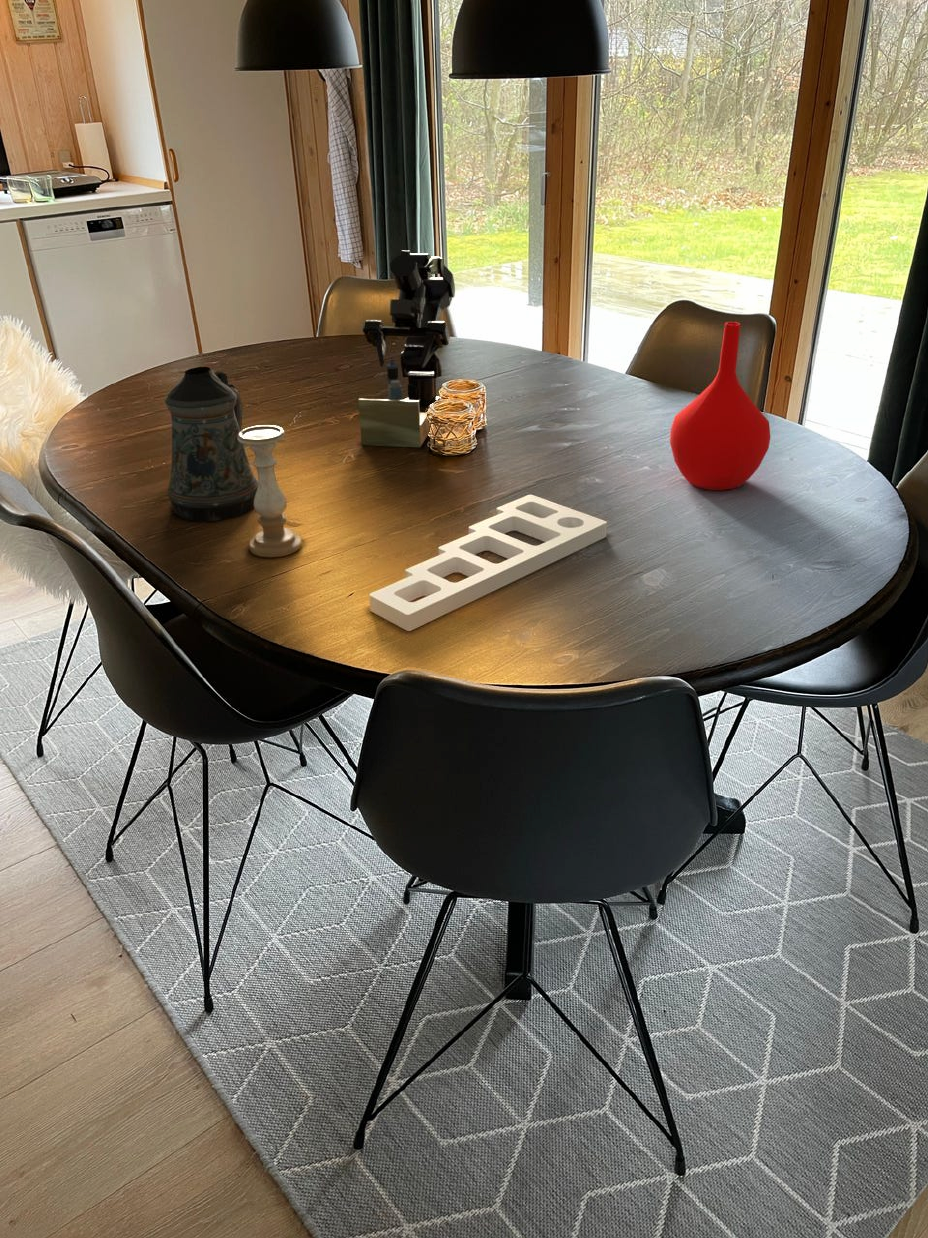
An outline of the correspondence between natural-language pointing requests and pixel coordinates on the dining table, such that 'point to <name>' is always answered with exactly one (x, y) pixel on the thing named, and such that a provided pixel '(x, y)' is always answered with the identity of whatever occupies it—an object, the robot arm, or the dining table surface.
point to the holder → (525, 515)
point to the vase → (720, 428)
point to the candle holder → (268, 495)
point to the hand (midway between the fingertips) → (401, 366)
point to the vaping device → (393, 381)
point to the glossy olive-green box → (392, 423)
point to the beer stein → (208, 449)
